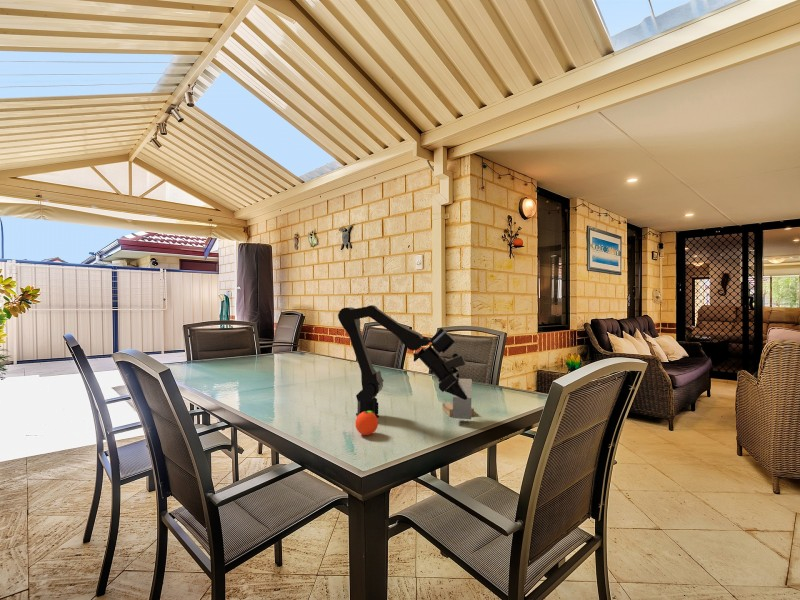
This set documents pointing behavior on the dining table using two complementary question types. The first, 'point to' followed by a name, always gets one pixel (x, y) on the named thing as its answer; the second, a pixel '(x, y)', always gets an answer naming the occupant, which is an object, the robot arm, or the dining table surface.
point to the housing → (460, 405)
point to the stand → (449, 409)
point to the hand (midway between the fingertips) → (466, 396)
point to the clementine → (366, 423)
